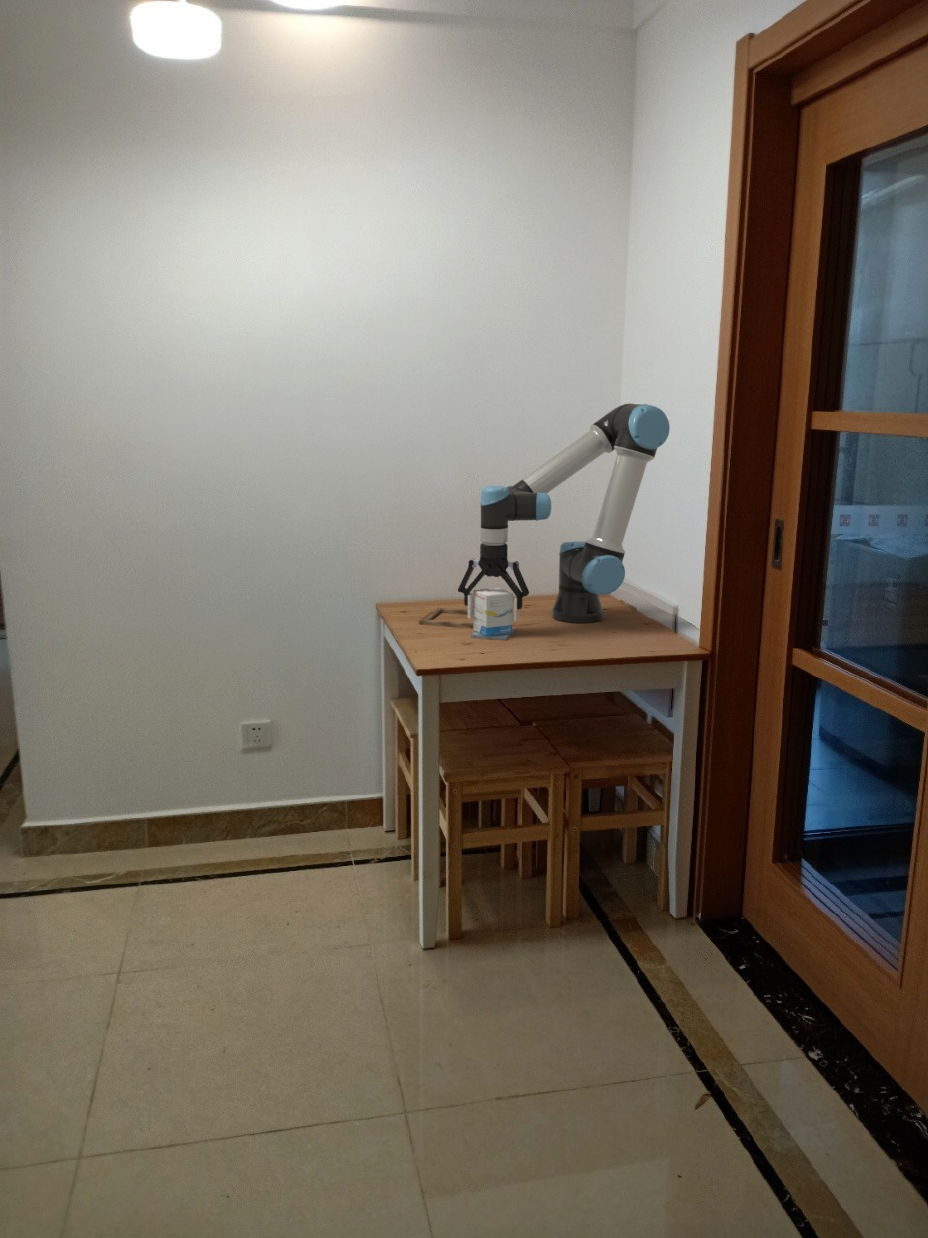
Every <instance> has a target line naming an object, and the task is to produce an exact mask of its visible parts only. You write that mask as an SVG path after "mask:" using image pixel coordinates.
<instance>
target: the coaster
mask: <svg viewBox="0 0 928 1238" xmlns="http://www.w3.org/2000/svg"><path fill="white" fill-rule="evenodd" d="M514 632H515V629H514V628H512V633H511V634H503V635H494V636H485V635H483V634H481V633H479V632H477V631H475V630H473V632H471V634H470V638H472V639H482V640H483V639H485V640H498V641H500V640H501V641H507V640H508V639H510V637H511V635H513V634H514Z"/></svg>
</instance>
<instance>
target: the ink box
mask: <svg viewBox="0 0 928 1238" xmlns="http://www.w3.org/2000/svg"><path fill="white" fill-rule="evenodd" d="M513 614H514V592H510V591H508V590H506V589H503V588H502V587H493V588H489V587H488V588H480V589H474V590H473V616H472V617H473V618H472V621H473V622H472V623H473V628H472V631H477V632H479V633H481V634H483V635H485V636H494V635H503V634H511V633H512V629H513ZM512 634H513V633H512ZM512 634H511V635H512Z"/></svg>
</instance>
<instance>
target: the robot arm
mask: <svg viewBox="0 0 928 1238" xmlns="http://www.w3.org/2000/svg"><path fill="white" fill-rule="evenodd" d="M670 426H671V425H670V421H669V419H668V417H667V414H666V413H665V411H663V410H662V409H661V408H660V407H657V406H654V405H651V404H647V403H643V404H642V403H641V404H640V403H639V404H638V403H624V404H622V405H619V406H617V407H615V408H614V409H612V410H610V411H609V412H608V413H606V414H605V415H604V416H602V417H601V418H599V419H598V420H597V421H595V422H593V424H591V425H590V427H589V431H588V432H586V433H585V434H583V435H582V436H581V437H579V438H578V439H576V440H575V441H574V442H572V443H571V444H569V445H568V446H567V447H565V448H564V449H563V450H561V451H560V452H558V453H557V454H555V455H554V456H553V457H551V459H548V460H547V461H546V462H545V463H543V464H541V465H540V466H539V467H538V468H536V469H534V470H533V471H532V472H531V473H529V474H528V475H526V476H525V477H524V478H522V479H521V480H519V481H517V482H516V483H515V484H514V485H511V486H510V485H509V486H504V485H487V486H484V487H483V488H482V489H481V492H480V493H481V494H480V503H479V504H480V531H479V532H480V539H479V540H480V542H481V544H480V546H479V547H480V548H479V555H480V556H479V559H478V560H477V559H475V558H471V559H469V560H468V564H467V565H468V566H467V570H466V571H465V574H464V576H463V578H462V580H461V582H460V584H459V586H458V588H457V592H459V593H462V594H463V595H464V600H463V602H464V603H463V604H464V606H465V607H466V606H467V610H468V614H467V618H468V619H471V618H472V617H473V601H474V593H471V592H472V591H473V589H474V588H475V587H476V586H477V584H478V583H479V582H480V581H481V580H482V579H483V578H484V576H486V577H487V578H488V577H489V578H490V577H494V578H500V577H501V579H502V580H504V582H505V583H506V584H507V586H508V587H509V588H510V590H511V591H512V593H513V595H515V597H513V622H517V621H518V620H519V612H520V611H519V610H521V609H522V608H523V598H525V597H527V596H528V595H529V594H530V591H529V588H528V586H527V583H526V582H525V579H524V577H523V575H522V572H521V569H520V562H519V561H518V560H516V561H509V558H508V553H509V552H508V545H509V544H507V543H508V541H509V538H508V537H509V522H513V521H517V522H518V521H536V522H537V521H543V520H547V519H549V517H550V516H551V513H552V500H551V497H550V495H549V492H551V491H553V490H554V489H555V488H557V487H558V486H559V485H561V484H562V483H564V482H565V481H567V480H569V478H572V476H573V475H575V474H577V473H578V472H579V471H581V470H582V469H584V468H585V467H587V465H589V464H591V463H592V462H593V461H595V460H596V459H598V458H599V457H600V456H602V455H603V454H604V453H606V454H611V453H612V452H613V451H615V452H616V458H615V462H614V465H613V468H612V470H611V471H612V472H611V476H610V478H609V481H608V485H607V487H606V491H605V495H604V498H603V501H602V504H601V508H600V511H599V515H598V518H597V521H596V525H595V527H594V531H593V534H592V536H591V537H590V538H588V539H586V540H585V541H584V540H583V541H565V542H561V544H560V548H559V554H558V555H559V563H558V565H559V567H558V568H559V569H558V592H557V596H556V597H555V602H554V604H553V606H552V610H551V611H552V614H551V615H552V618H553V619H554V620H558V621H561V622H566V623H580V624H583V623H586V624H587V623H594V622H599V621H601V620H603V618H604V610H603V607H602V603H601V600H600V596H599V595H601V596H605V595H610V594H612V593H614V592H615V591H617V590H618V589H619V588H620V587H621V586H622V584H623V583H624V580H625V577H626V569H625V565H624V563H623V560H624V558H625V554H626V551H625V549H624V546H623V542H624V539H625V535H626V533H627V529H628V525H629V523H630V519H631V517H632V513H633V511H634V506H635V503H636V499H637V496H638V492H639V490H640V488H641V487H640V486H641V484H642V480H643V478H644V473H645V471H646V467H647V464H648V463H649V462H650V461H653V460H654V459H655V457H656V453H657V451H658V448H660V447H661V446H662V445H664V444H665V443H666V441H667V440H668V437H669V434H670ZM477 566H479V568H480V572H479V573H478V574H477V575H476V577H475V578H474V579H473V581H472V582H471V583H470V584H469V585H468V586H467V584H468V582H469V580H470V577H471V575H472V574H473V572H474V569H475V568H476V567H477ZM508 567H509V568H510V570H511V571H512V572H513V574H514V577H515V579H516V580H517V583H518V585H517V584H516V583H515V581H514V580H513V578H512V577H511V576H510V574H509V572H508V571H507V569H508ZM466 586H467V588H466Z"/></svg>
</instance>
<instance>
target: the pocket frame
mask: <svg viewBox="0 0 928 1238" xmlns="http://www.w3.org/2000/svg"><path fill="white" fill-rule="evenodd" d="M441 613H442V614H458V615H468V609H465V608H464V609H462V608H450V607H449V608H447V607H436V608H434V609H433V610H431V611H430V612H429V613H427V614H426V615H424V617H422V618H420V619H419V620H418V625H426V626H427V625H428V626H438V627H439V626H441V627H452V628H463V629H464V628H465V629H473V622H465V621H464V622H463V621H451V620H450V621H449V620H448V621H447V620H436V619H435V618H436V617H437V616H439V615H440V614H441ZM434 619H435V620H434Z"/></svg>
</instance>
